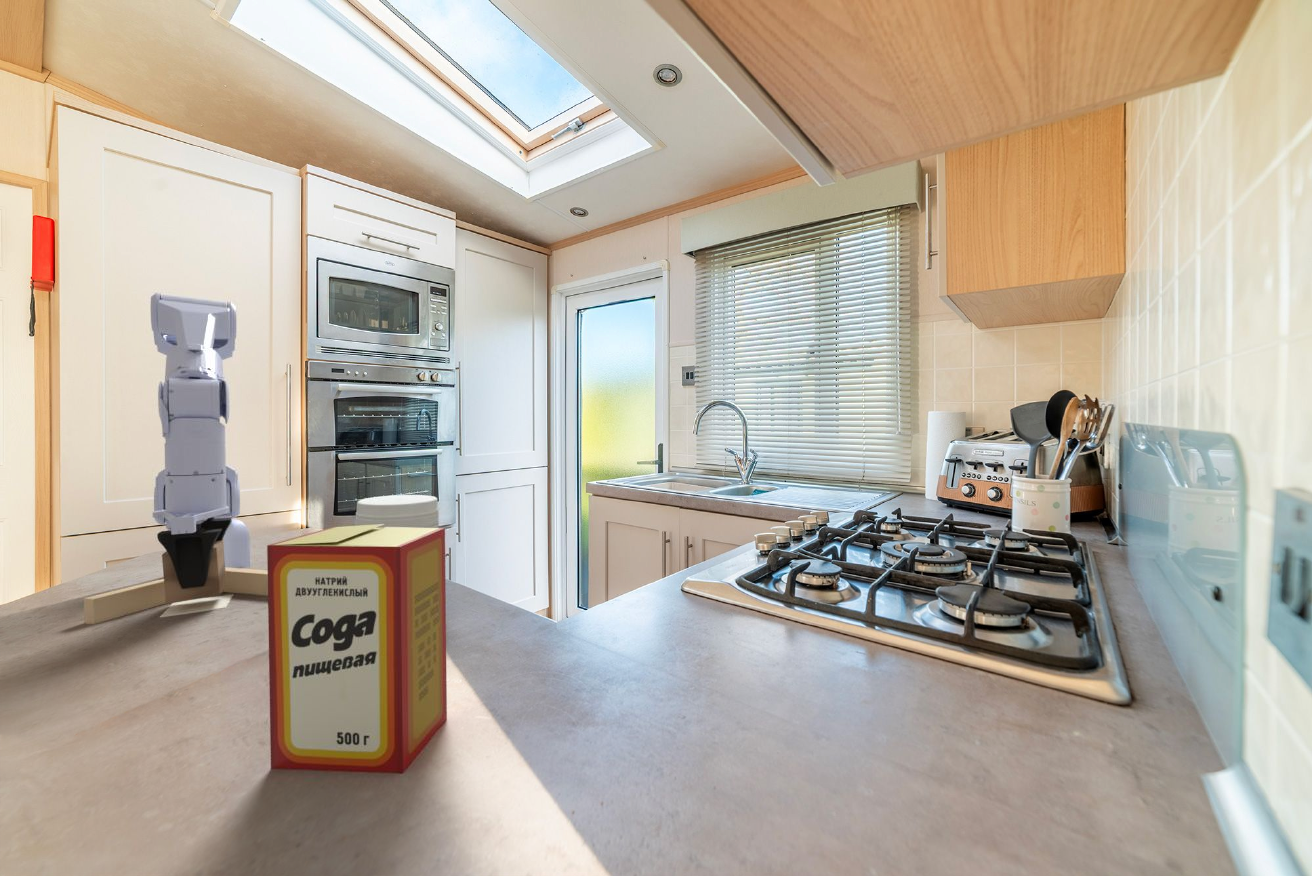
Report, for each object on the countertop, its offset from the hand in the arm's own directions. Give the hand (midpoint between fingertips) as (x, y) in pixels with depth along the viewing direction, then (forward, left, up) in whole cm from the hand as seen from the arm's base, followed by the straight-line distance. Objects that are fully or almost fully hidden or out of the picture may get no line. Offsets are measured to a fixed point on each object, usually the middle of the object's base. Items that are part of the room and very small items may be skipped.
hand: (198, 581), depth 65 cm
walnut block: (0, 0, -2) cm, 2 cm away
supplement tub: (-6, +24, -5) cm, 25 cm away
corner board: (+1, +3, -4) cm, 5 cm away
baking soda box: (+18, +41, -5) cm, 45 cm away
